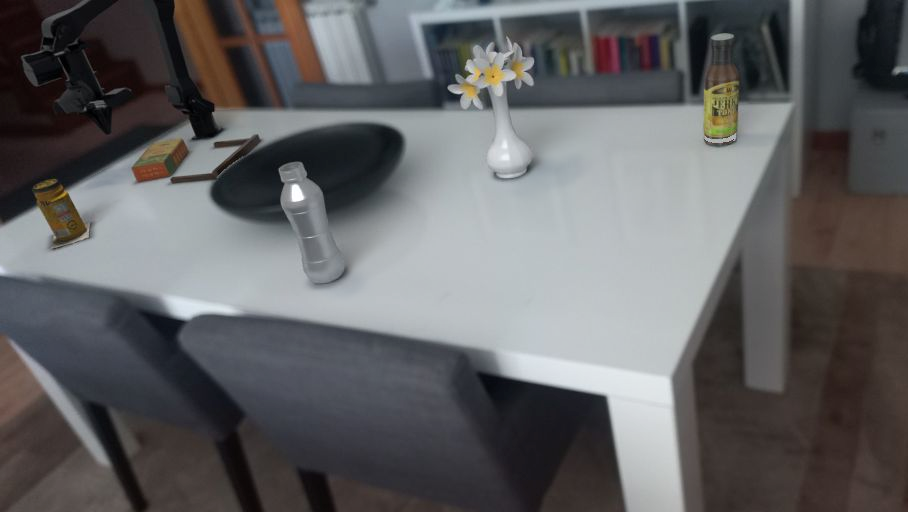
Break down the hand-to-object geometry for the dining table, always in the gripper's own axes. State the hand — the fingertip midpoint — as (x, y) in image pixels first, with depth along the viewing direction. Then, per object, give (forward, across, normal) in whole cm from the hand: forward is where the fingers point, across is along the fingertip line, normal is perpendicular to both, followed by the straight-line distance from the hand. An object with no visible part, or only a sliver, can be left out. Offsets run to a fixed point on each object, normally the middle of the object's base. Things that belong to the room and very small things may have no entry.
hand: (108, 134), depth 180 cm
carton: (+10, +11, 0) cm, 15 cm away
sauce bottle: (+10, +144, -16) cm, 145 cm away
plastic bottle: (+10, +78, -58) cm, 98 cm away
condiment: (+10, +10, -35) cm, 38 cm away
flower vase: (+10, +104, -23) cm, 107 cm away
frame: (+10, +26, 0) cm, 28 cm away
